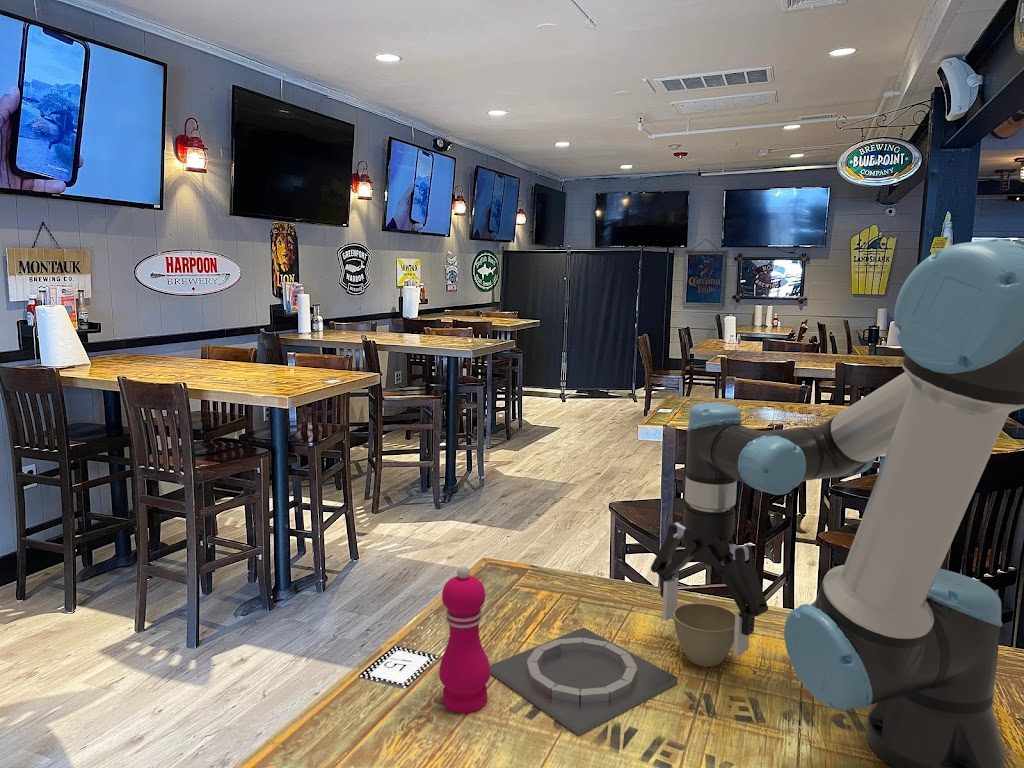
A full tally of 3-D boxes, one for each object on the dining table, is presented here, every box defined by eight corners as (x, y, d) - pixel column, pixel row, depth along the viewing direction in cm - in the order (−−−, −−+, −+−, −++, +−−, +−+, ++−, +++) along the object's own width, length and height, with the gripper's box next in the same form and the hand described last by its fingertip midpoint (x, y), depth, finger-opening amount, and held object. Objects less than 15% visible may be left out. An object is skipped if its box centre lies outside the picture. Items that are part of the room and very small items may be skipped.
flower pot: (740, 679, 109) (742, 634, 108) (672, 672, 111) (673, 627, 110) (734, 646, 119) (736, 604, 118) (671, 640, 121) (673, 599, 120)
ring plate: (677, 683, 108) (677, 669, 108) (578, 736, 96) (578, 720, 96) (583, 632, 124) (583, 620, 123) (488, 672, 111) (488, 658, 111)
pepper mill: (454, 721, 99) (452, 581, 96) (431, 696, 105) (428, 563, 102) (500, 705, 103) (499, 569, 100) (475, 681, 109) (473, 553, 106)
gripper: (798, 521, 104) (789, 659, 108) (662, 480, 124) (658, 598, 127) (768, 533, 100) (759, 677, 103) (632, 489, 119) (628, 611, 122)
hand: (703, 634), depth 115 cm, fingers open, 13 cm apart
